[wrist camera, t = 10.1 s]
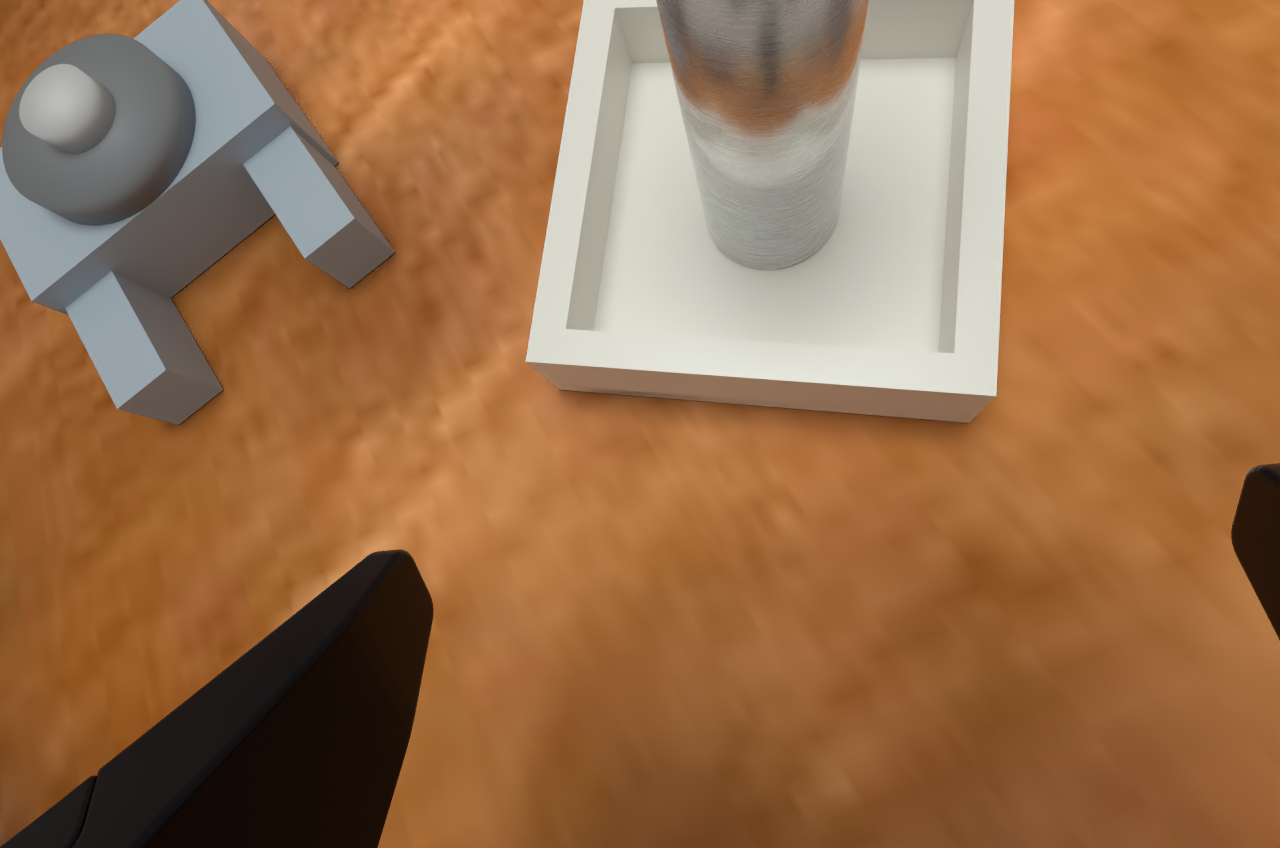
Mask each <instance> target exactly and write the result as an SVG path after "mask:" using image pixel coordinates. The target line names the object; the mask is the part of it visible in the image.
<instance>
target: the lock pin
mask: <svg viewBox="0 0 1280 848" xmlns="http://www.w3.org/2000/svg"><path fill="white" fill-rule="evenodd" d="M656 2H657V6H658V11H659V15H660V20H661V24H662V29H663V33H664V37H665V42H666V46H667V51H668V55H669V60H670V64H671V69H672V73H673V77H674V82H675V86H676V91H677V95H678V100H679V104H680V109H681V113H682V118H683V122H684V126H685V131H686V135H687V140H688V144H689V149H690V153H691V158H692V162H693V166H694V171H695V175H696V180H697V184H698V189H699V193H700V198H701V202H702V206H703V211H704V215H705V220H706V224H707V228H708V231H709V234H710V236H711V238H712V240H713V242H714V243H715V245H716V246H717V247H718V249H719V250H720V251H721V252H722V253H723V254H724V255H726V256H727V257H728V258H729V259H731V260H733V261H734V262H736V263H738V264H740V265H743V266H745V267H748V268H752V269H757V270H781V269H785V268H790V267H792V266H795V265H798V264H800V263H802V262H804V261H806V260H807V259H809V258H811V257H812V256H814V255H815V254H816V253H817V252H818V251H819V250H820V249H821V248H822V247H823V246H824V245H825V244H826V243H827V241H828V240H829V238H830V237H831V235H832V233H833V232H834V230H835V227H836V224H837V222H838V217H839V212H840V205H841V198H842V191H843V183H844V176H845V169H846V162H847V154H848V147H849V140H850V133H851V126H852V118H853V111H854V104H855V97H856V89H857V82H858V75H859V68H860V61H861V53H862V46H863V39H864V32H865V24H866V17H867V10H868V3H869V0H656Z"/></svg>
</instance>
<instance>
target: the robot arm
mask: <svg viewBox="0 0 1280 848" xmlns="http://www.w3.org/2000/svg"><path fill="white" fill-rule="evenodd" d="M1231 538H1232V544H1233V547H1234V551H1235V553H1236V555H1237V557H1238V559H1239V561H1240V563H1241V565H1242V567H1243V569H1244V571H1245V573H1246V575H1247V577H1248V579H1249V581H1250V583H1251V585H1252V587H1253V589H1254V591H1255V593H1256V595H1257V597H1258V599H1259V600H1260V602H1261V604H1262V606H1263V608H1264V610H1265V612H1266V614H1267V616H1268V618H1269V620H1270V622H1271V624H1272V626H1273V628H1274V630H1275V632H1276V634H1277V636H1278V638H1279V640H1280V463H1278V464H1267V465H1259V466H1257V467H1254V468H1252V469H1251V470H1250V471H1249V472H1248V474H1247V475H1246V478H1245V480H1244V484H1243V488H1242V491H1241V495H1240V499H1239V503H1238V506H1237V510H1236V514H1235V518H1234V521H1233V525H1232V531H1231ZM432 621H433V603H432V599H431V596H430V594H429V591H428V589H427V587H426V585H425V583H424V581H423V579H422V577H421V574H420V572H419V570H418V568H417V566H416V564H415V562H414V559H413V558H412V556H411V555H410V554H409V553H408V552H407V551H405V550H389V551H379V552H374V553H372V554H370V555H368V556H367V557H366V558H365V559H363V560H362V561H361V562H360V563H358V564H357V565H356V566H355V567H353V568H352V569H351V570H350V571H348V572H347V573H346V574H345V575H343V576H342V577H341V578H340V579H338V580H337V581H336V582H334V583H333V584H332V585H331V586H329V587H328V588H327V589H326V590H324V591H323V592H322V593H321V594H319V595H318V596H317V597H316V598H314V599H313V600H312V601H311V602H309V603H308V604H307V605H306V606H304V607H303V608H302V609H301V610H299V611H298V612H297V613H296V614H294V615H293V616H292V617H290V618H289V619H288V620H287V621H285V622H284V623H283V624H282V625H280V626H279V627H278V628H277V629H275V630H274V631H273V632H272V633H270V634H269V635H268V636H267V637H265V638H264V639H263V640H262V641H260V642H259V643H258V644H257V645H255V646H254V647H253V648H252V649H250V650H249V651H248V652H246V653H245V654H244V655H243V656H241V657H240V658H239V659H238V660H236V661H235V662H234V663H233V664H231V665H230V666H229V667H228V668H226V669H225V670H224V671H223V672H221V673H220V674H219V675H218V676H216V677H215V678H214V679H213V680H211V681H210V682H209V683H208V684H206V685H205V686H204V687H202V688H201V689H200V690H199V691H197V692H196V693H195V694H194V695H192V696H191V697H190V698H189V699H187V700H186V701H185V702H184V703H182V704H181V705H180V706H179V707H177V708H176V709H175V710H174V711H172V712H171V713H170V714H169V715H167V716H166V717H165V718H164V719H162V720H161V721H160V722H158V723H157V724H156V725H155V726H153V727H152V728H151V729H150V730H148V731H147V732H146V733H145V734H143V735H142V736H141V737H140V738H138V739H137V740H136V741H135V742H133V743H132V744H131V745H130V746H128V747H127V748H126V749H125V750H123V751H122V752H121V753H120V754H118V755H117V756H116V757H114V758H113V759H112V760H111V761H109V762H108V763H107V764H106V765H104V766H103V767H102V768H101V769H100V770H99V772H98V774H97V776H91V777H89V778H88V779H87V780H85V781H84V782H83V783H82V784H80V785H79V786H78V787H77V788H75V789H74V790H73V791H72V792H70V793H69V794H68V795H67V796H65V797H64V798H63V799H62V800H60V801H59V802H58V803H57V804H55V805H54V806H53V807H52V808H50V809H49V810H48V811H46V812H45V813H44V814H42V815H41V816H40V817H39V818H37V819H36V820H35V821H33V822H32V823H31V824H30V825H28V826H27V827H26V828H24V829H23V830H22V831H21V832H19V833H18V834H17V835H15V836H14V837H13V838H11V839H10V840H9V841H8V842H6V843H5V844H4V845H2V846H1V847H0V848H377V847H378V844H379V841H380V837H381V834H382V831H383V827H384V824H385V821H386V817H387V814H388V811H389V807H390V804H391V800H392V797H393V794H394V790H395V787H396V784H397V780H398V777H399V774H400V770H401V767H402V764H403V760H404V757H405V754H406V750H407V746H408V743H409V739H410V735H411V731H412V726H413V722H414V717H415V712H416V707H417V701H418V696H419V691H420V685H421V680H422V674H423V669H424V664H425V658H426V653H427V648H428V642H429V637H430V632H431V626H432Z"/></svg>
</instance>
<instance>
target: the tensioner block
mask: <svg viewBox="0 0 1280 848" xmlns="http://www.w3.org/2000/svg"><path fill="white" fill-rule="evenodd" d="M338 163H339V162H338V161H337V159H336V158H335V157H334V155H333V154H332V152H331V151H330V150H329V148H328V147H327V145H326V144H325V142H324V141H323V140H322V138H321V137H320V135H319V134H318V133H317V131H316V130H315V128H314V127H313V126H312V124H311V123H310V121H309V120H308V119H307V117H306V116H305V114H304V113H303V111H302V110H301V109H300V107H299V106H298V104H297V103H296V102H295V100H294V99H293V97H292V96H291V95H290V93H289V92H288V90H287V89H286V88H285V86H284V85H283V83H282V82H281V80H280V79H279V78H278V76H277V75H276V73H275V72H274V71H273V69H272V68H271V66H270V65H269V64H268V62H267V61H266V59H265V58H264V57H263V56H262V55H261V54H260V53H259V52H258V51H257V50H256V49H255V48H254V47H253V46H252V45H251V44H250V43H249V42H248V41H247V40H246V39H245V38H244V37H243V36H242V35H241V34H240V33H239V32H238V31H237V30H236V29H235V28H234V27H233V26H232V25H231V24H230V23H229V22H228V21H227V20H226V19H225V18H224V17H223V16H222V15H221V14H220V13H219V12H218V11H217V10H216V9H215V8H214V7H213V6H212V5H211V4H210V3H209V2H208V1H207V0H180V1H179V2H178V3H176V4H175V5H174V6H173V7H171V8H170V9H169V10H168V11H167V12H165V13H164V14H163V15H162V16H161V17H159V18H158V19H157V20H156V21H154V22H153V23H152V24H151V25H150V26H148V27H147V28H146V29H145V30H143V31H142V32H141V33H140V34H139V35H137V36H136V37H135V38H134V39H132V38H130V37H127V36H122V35H116V34H103V35H95V36H90V37H87V38H84V39H81V40H78V41H76V42H73V43H71V44H69V45H67V46H65V47H64V48H62V49H60V50H59V51H57V52H56V53H54V54H53V55H52V56H50V57H49V58H48V59H47V60H45V61H44V62H43V63H42V64H41V65H40V66H39V67H38V68H37V69H36V70H35V71H34V72H33V73H32V74H31V76H30V77H29V78H28V79H27V81H26V82H25V83H24V85H23V86H22V88H21V89H20V91H19V93H18V94H17V96H16V98H15V100H14V102H13V104H12V106H11V108H10V111H9V113H8V116H7V119H6V123H5V127H4V132H3V139H2V147H1V148H0V239H1V241H2V243H3V245H4V247H5V249H6V251H7V253H8V255H9V257H10V259H11V261H12V263H13V265H14V267H15V269H16V271H17V273H18V275H19V277H20V279H21V281H22V283H23V285H24V287H25V289H26V291H27V293H28V295H29V297H30V299H31V301H33V302H35V303H38V304H41V305H43V306H46V307H49V308H51V309H54V310H57V311H59V312H62V313H65V314H67V315H69V317H70V319H71V321H72V323H73V324H74V326H75V328H76V330H77V332H78V334H79V336H80V338H81V340H82V342H83V344H84V346H85V348H86V350H87V352H88V353H89V355H90V357H91V359H92V361H93V363H94V365H95V367H96V369H97V371H98V373H99V375H100V377H101V379H102V381H103V382H104V384H105V386H106V388H107V390H108V392H109V394H110V396H111V398H112V400H113V402H114V404H115V406H116V408H117V409H119V410H123V411H127V412H130V413H134V414H138V415H142V416H146V417H149V418H153V419H157V420H161V421H165V422H168V423H172V424H176V425H180V424H181V423H182V422H183V421H185V420H186V419H187V418H188V417H190V416H191V415H192V414H193V413H195V412H196V411H197V410H198V409H200V408H201V407H202V406H203V405H205V404H206V403H207V402H208V401H210V400H211V399H212V398H213V397H215V396H216V395H217V394H218V393H220V392H221V391H222V390H223V388H222V386H221V384H220V383H219V381H218V379H217V378H216V376H215V374H214V372H213V371H212V369H211V367H210V365H209V364H208V362H207V360H206V358H205V357H204V355H203V353H202V351H201V350H200V348H199V346H198V344H197V343H196V341H195V339H194V337H193V336H192V334H191V332H190V330H189V329H188V327H187V325H186V324H185V322H184V320H183V318H182V317H181V315H180V313H179V311H178V310H177V308H176V306H175V304H174V303H173V301H172V299H171V298H172V297H173V296H174V295H175V294H176V293H178V292H179V291H180V290H181V289H183V288H184V287H185V286H186V285H188V284H189V283H190V282H191V281H193V280H194V279H195V278H196V277H198V276H199V275H200V274H201V273H203V272H204V271H205V270H206V269H207V268H209V267H210V266H211V265H212V264H214V263H215V262H216V261H217V260H219V259H220V258H221V257H222V256H224V255H225V254H226V253H227V252H229V251H230V250H231V249H232V248H234V247H235V246H236V245H237V244H238V243H240V242H241V241H242V240H243V239H245V238H246V237H247V236H248V235H250V234H251V233H252V232H253V231H255V230H256V229H257V228H258V227H260V226H261V225H262V224H263V223H265V222H266V221H267V220H268V219H269V218H271V217H272V216H273V215H274V214H276V215H277V217H278V219H279V220H280V222H281V223H282V225H283V226H284V228H285V229H286V231H287V232H288V234H289V235H290V237H291V238H292V240H293V241H294V243H295V244H296V246H297V247H298V249H299V251H300V252H301V254H302V255H303V257H304V258H305V259H306V260H308V261H309V262H311V263H312V264H314V265H315V266H317V267H318V268H320V269H321V270H323V271H324V272H326V273H327V274H329V275H330V276H332V277H333V278H335V279H336V280H338V281H339V282H341V283H342V284H344V285H345V286H347V287H348V288H351V287H352V286H353V285H355V284H356V283H357V282H358V281H360V280H361V279H362V278H363V277H365V276H366V275H367V274H368V273H370V272H371V271H372V270H373V269H375V268H376V267H377V266H378V265H380V264H381V263H382V262H383V261H385V260H386V259H387V258H389V257H390V256H391V255H392V254H394V253H395V251H394V250H393V248H392V247H391V246H390V244H389V243H388V241H387V240H386V238H385V237H384V236H383V234H382V233H381V231H380V230H379V229H378V227H377V226H376V224H375V223H374V221H373V220H372V219H371V217H370V216H369V214H368V213H367V212H366V210H365V209H364V207H363V206H362V204H361V203H360V202H359V200H358V199H357V197H356V196H355V195H354V193H353V192H352V190H351V189H350V187H349V186H348V185H347V183H346V182H345V180H344V179H343V178H342V176H341V175H340V173H339V172H338V170H337V169H336V168H335V165H336V164H338Z"/></svg>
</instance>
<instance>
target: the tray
mask: <svg viewBox="0 0 1280 848" xmlns="http://www.w3.org/2000/svg"><path fill="white" fill-rule="evenodd" d="M1013 17H1014V0H869V3H868V10H867V17H866V24H865V32H864V39H863V46H862V53H861V61H860V68H859V75H858V82H857V89H856V97H855V104H854V111H853V118H852V126H851V133H850V140H849V147H848V154H847V162H846V169H845V176H844V183H843V191H842V198H841V205H840V212H839V217H838V222H837V224H836V227H835V230H834V232H833V233H832V235H831V237H830V238H829V240H828V241H827V243H826V244H825V245H824V246H823V247H822V248H821V249H820V250H819V251H818V252H817V253H816V254H815V255H814V256H812V257H811V258H809V259H807V260H806V261H804V262H802V263H800V264H798V265H795V266H792V267H790V268H785V269H781V270H757V269H752V268H748V267H745V266H743V265H740V264H738V263H736V262H734V261H733V260H731V259H729V258H728V257H727V256H726V255H724V254H723V253H722V252H721V251H720V250H719V249H718V247H717V246H716V245H715V243H714V242H713V240H712V238H711V236H710V234H709V231H708V228H707V224H706V220H705V215H704V211H703V206H702V202H701V198H700V193H699V189H698V184H697V180H696V175H695V171H694V166H693V162H692V158H691V153H690V149H689V144H688V140H687V135H686V131H685V126H684V122H683V118H682V113H681V109H680V104H679V100H678V95H677V91H676V86H675V82H674V77H673V73H672V69H671V64H670V60H669V55H668V51H667V46H666V42H665V37H664V33H663V29H662V24H661V20H660V15H659V11H658V6H657V2H656V0H584V4H583V10H582V16H581V22H580V28H579V35H578V41H577V47H576V53H575V59H574V65H573V72H572V78H571V84H570V90H569V96H568V103H567V109H566V115H565V121H564V127H563V134H562V140H561V146H560V152H559V158H558V165H557V171H556V177H555V183H554V189H553V196H552V202H551V208H550V214H549V220H548V227H547V233H546V239H545V245H544V251H543V257H542V264H541V270H540V276H539V282H538V288H537V295H536V301H535V307H534V313H533V319H532V326H531V332H530V338H529V344H528V350H527V357H526V362H527V363H528V364H529V365H530V366H532V367H533V368H534V369H535V370H536V371H538V372H539V373H540V374H541V375H542V376H544V377H545V378H546V379H547V380H548V381H550V382H551V383H552V384H553V385H554V386H556V387H557V388H558V389H559V390H570V391H582V392H595V393H607V394H619V395H632V396H644V397H656V398H669V399H681V400H693V401H706V402H718V403H730V404H743V405H755V406H767V407H780V408H792V409H804V410H817V411H829V412H841V413H854V414H866V415H878V416H891V417H903V418H915V419H928V420H940V421H952V422H965V423H969V422H970V421H971V420H972V419H973V418H974V417H975V416H977V415H978V414H979V413H980V412H981V411H982V410H983V409H984V408H985V407H986V406H987V405H988V404H989V403H990V402H991V401H992V400H993V399H994V398H995V397H996V391H997V369H998V347H999V325H1000V303H1001V281H1002V259H1003V237H1004V215H1005V193H1006V171H1007V149H1008V127H1009V105H1010V83H1011V61H1012V39H1013Z"/></svg>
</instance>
